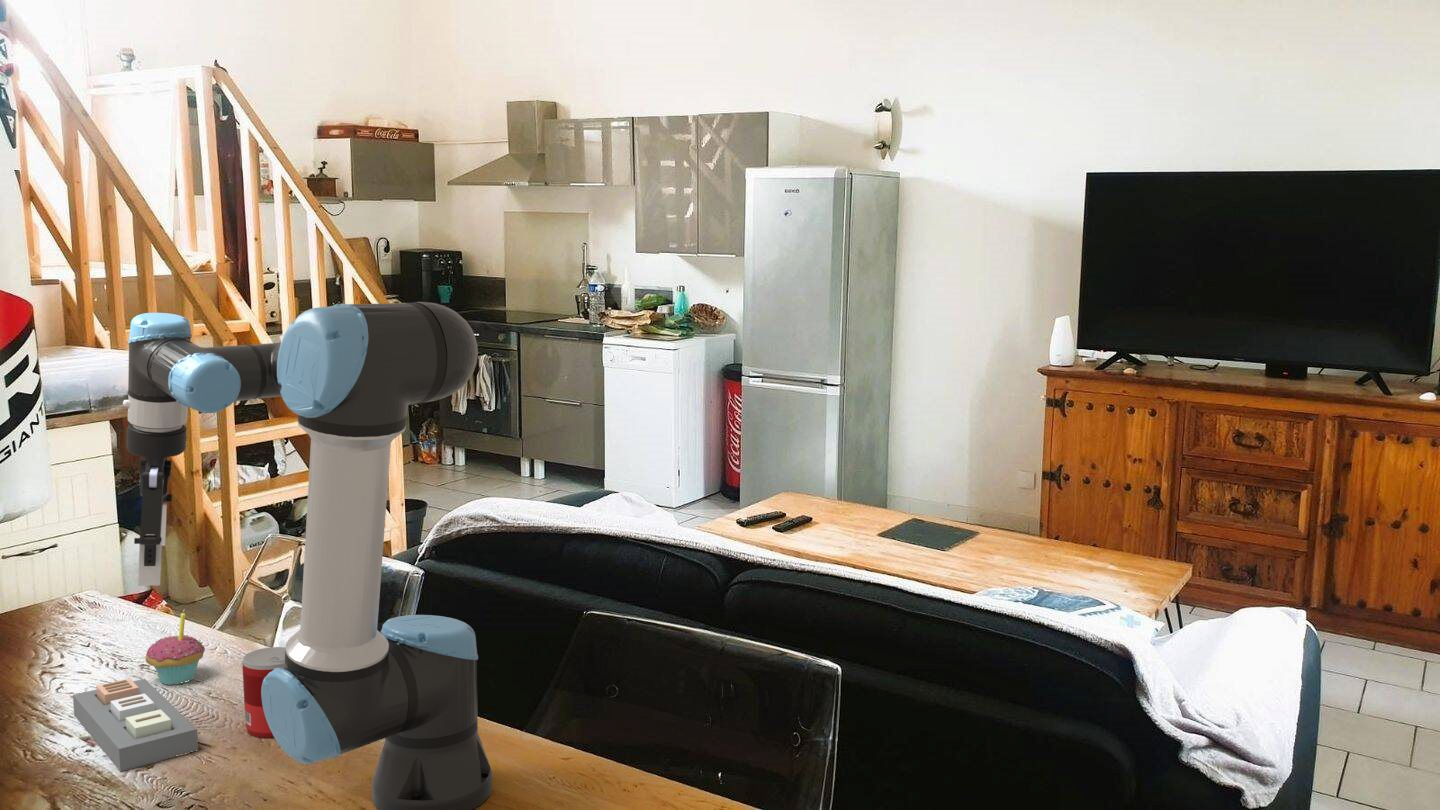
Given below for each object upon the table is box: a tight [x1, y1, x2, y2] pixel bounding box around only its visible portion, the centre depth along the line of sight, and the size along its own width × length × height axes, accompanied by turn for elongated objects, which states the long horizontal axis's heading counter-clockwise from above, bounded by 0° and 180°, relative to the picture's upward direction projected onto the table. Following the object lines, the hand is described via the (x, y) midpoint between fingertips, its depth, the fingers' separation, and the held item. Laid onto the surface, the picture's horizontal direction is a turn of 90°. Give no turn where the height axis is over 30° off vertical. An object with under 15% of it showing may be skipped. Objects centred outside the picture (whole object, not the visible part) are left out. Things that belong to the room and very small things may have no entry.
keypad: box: [72, 678, 199, 773], centre depth 169 cm, size 24×10×3 cm, turn 42°
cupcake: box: [145, 608, 206, 685], centre depth 188 cm, size 9×8×12 cm
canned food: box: [242, 646, 286, 739], centre depth 171 cm, size 8×8×11 cm
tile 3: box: [95, 678, 139, 705], centre depth 174 cm, size 5×5×2 cm
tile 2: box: [110, 693, 155, 722], centre depth 169 cm, size 5×5×2 cm
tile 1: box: [126, 709, 172, 739], centre depth 163 cm, size 5×5×2 cm
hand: (152, 564), depth 169 cm, fingers open, 13 cm apart
